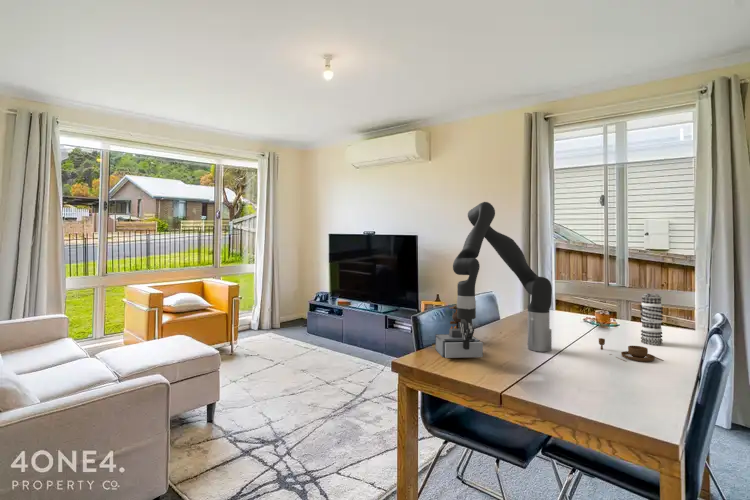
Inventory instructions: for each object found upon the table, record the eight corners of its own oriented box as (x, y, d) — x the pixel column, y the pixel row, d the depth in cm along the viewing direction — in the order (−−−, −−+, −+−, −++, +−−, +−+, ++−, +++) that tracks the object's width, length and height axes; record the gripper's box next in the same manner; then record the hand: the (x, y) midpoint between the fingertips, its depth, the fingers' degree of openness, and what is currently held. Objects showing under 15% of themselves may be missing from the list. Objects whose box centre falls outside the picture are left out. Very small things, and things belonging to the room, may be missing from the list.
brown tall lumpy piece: (458, 346, 182) (458, 304, 183) (441, 342, 191) (441, 302, 192) (479, 342, 191) (479, 302, 192) (462, 338, 200) (462, 299, 200)
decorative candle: (642, 346, 183) (642, 294, 184) (637, 342, 192) (637, 292, 192) (666, 348, 180) (665, 295, 180) (659, 344, 189) (659, 293, 189)
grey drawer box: (469, 349, 178) (469, 327, 178) (479, 356, 165) (479, 333, 165) (435, 349, 176) (435, 327, 176) (442, 357, 163) (442, 333, 164)
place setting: (629, 363, 158) (629, 348, 158) (595, 351, 177) (595, 338, 178) (668, 362, 160) (668, 347, 160) (630, 350, 180) (630, 337, 180)
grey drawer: (472, 349, 173) (472, 336, 173) (482, 357, 160) (482, 342, 160) (438, 350, 172) (438, 336, 172) (445, 357, 159) (445, 343, 159)
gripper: (452, 304, 164) (452, 345, 164) (462, 309, 151) (462, 353, 151) (469, 304, 165) (469, 345, 165) (480, 308, 152) (480, 353, 152)
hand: (466, 349), depth 158 cm, fingers closed
